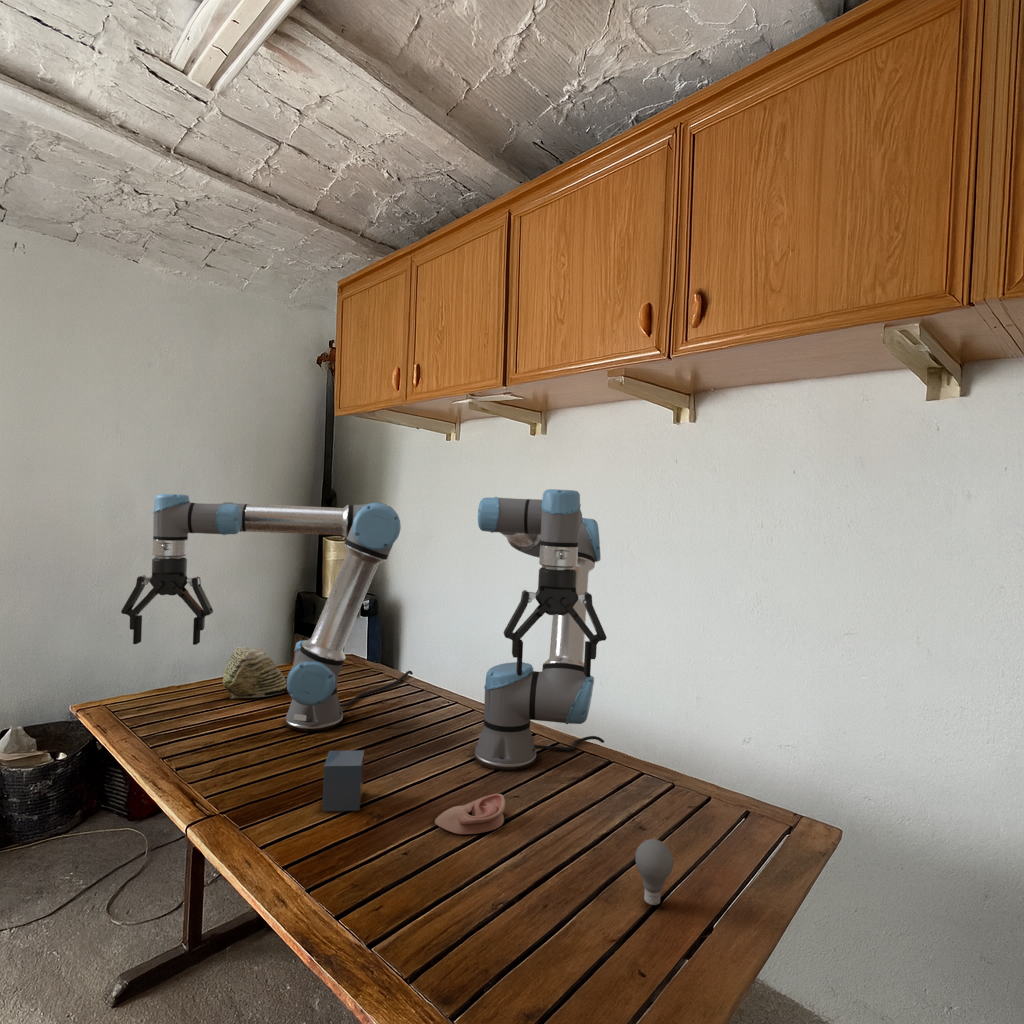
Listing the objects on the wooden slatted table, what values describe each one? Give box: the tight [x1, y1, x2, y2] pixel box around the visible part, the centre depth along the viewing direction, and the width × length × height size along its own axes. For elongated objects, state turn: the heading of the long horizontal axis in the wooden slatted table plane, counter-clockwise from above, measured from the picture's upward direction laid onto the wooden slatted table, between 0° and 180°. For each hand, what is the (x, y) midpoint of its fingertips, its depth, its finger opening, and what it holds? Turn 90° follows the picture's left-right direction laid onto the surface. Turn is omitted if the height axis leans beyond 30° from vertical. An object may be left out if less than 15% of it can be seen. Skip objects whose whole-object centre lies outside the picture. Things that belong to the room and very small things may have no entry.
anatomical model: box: [434, 793, 506, 835], centre depth 126 cm, size 13×4×12 cm
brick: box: [321, 749, 365, 813], centre depth 132 cm, size 7×8×9 cm
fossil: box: [222, 646, 287, 699], centre depth 198 cm, size 9×18×15 cm, turn 132°
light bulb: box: [634, 838, 674, 906], centre depth 103 cm, size 6×6×10 cm
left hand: (166, 643), depth 155 cm, fingers open, 13 cm apart
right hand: (553, 674), depth 125 cm, fingers open, 13 cm apart
